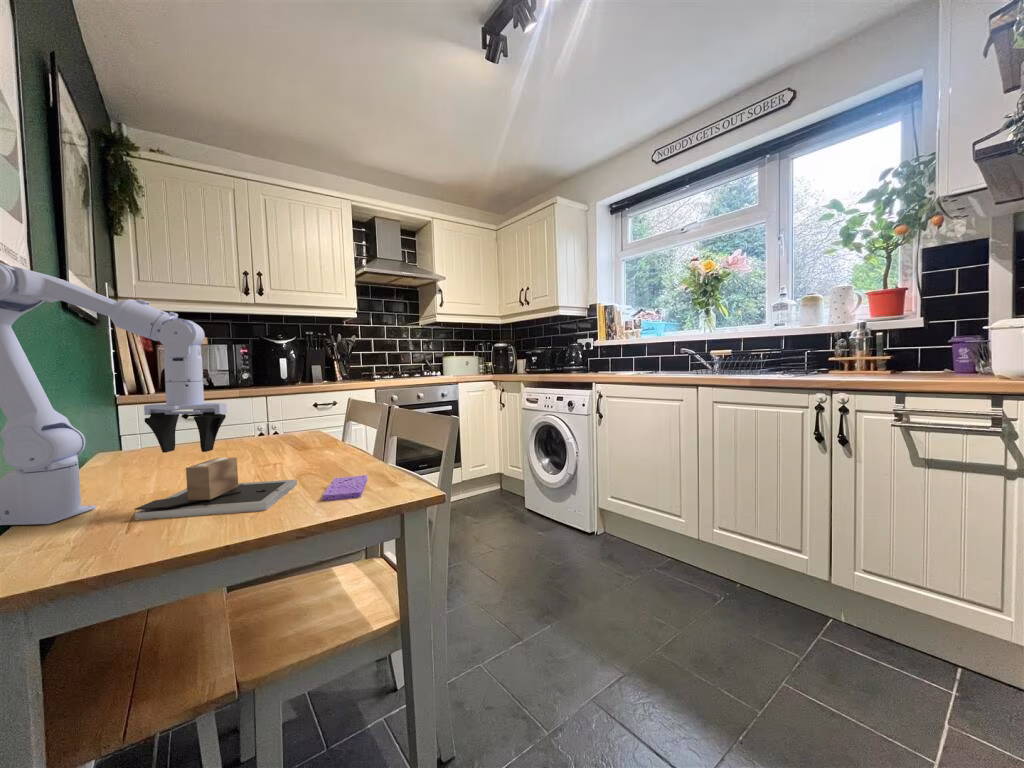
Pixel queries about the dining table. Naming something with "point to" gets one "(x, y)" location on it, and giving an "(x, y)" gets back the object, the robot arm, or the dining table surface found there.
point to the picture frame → (219, 501)
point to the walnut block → (211, 478)
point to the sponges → (345, 488)
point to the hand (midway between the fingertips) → (187, 451)
